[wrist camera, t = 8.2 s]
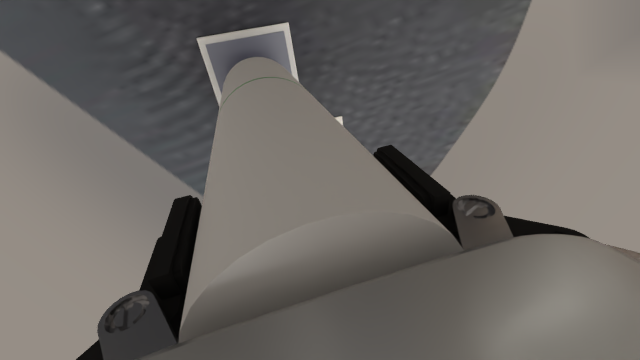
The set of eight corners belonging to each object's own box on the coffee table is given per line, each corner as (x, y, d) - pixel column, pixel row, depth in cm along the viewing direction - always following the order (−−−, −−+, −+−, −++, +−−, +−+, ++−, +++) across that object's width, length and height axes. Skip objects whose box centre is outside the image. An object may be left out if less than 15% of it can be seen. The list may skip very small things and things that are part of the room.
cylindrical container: (247, 141, 30) (276, 434, 9) (207, 78, 26) (87, 333, 5) (307, 111, 30) (478, 330, 9) (276, 43, 26) (449, 146, 5)
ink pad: (198, 37, 31) (196, 38, 29) (286, 22, 32) (288, 22, 31) (228, 130, 37) (228, 135, 35) (302, 114, 38) (305, 118, 37)
